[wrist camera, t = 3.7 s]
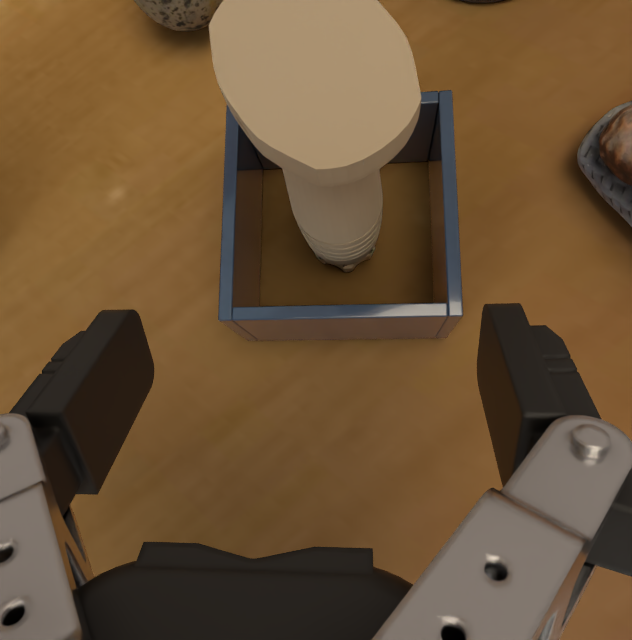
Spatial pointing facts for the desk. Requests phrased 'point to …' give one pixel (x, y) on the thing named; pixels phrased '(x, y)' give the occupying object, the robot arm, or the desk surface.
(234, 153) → the open box
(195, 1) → the decorative egg
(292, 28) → the handle
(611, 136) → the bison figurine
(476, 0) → the container
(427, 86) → the desk surface
